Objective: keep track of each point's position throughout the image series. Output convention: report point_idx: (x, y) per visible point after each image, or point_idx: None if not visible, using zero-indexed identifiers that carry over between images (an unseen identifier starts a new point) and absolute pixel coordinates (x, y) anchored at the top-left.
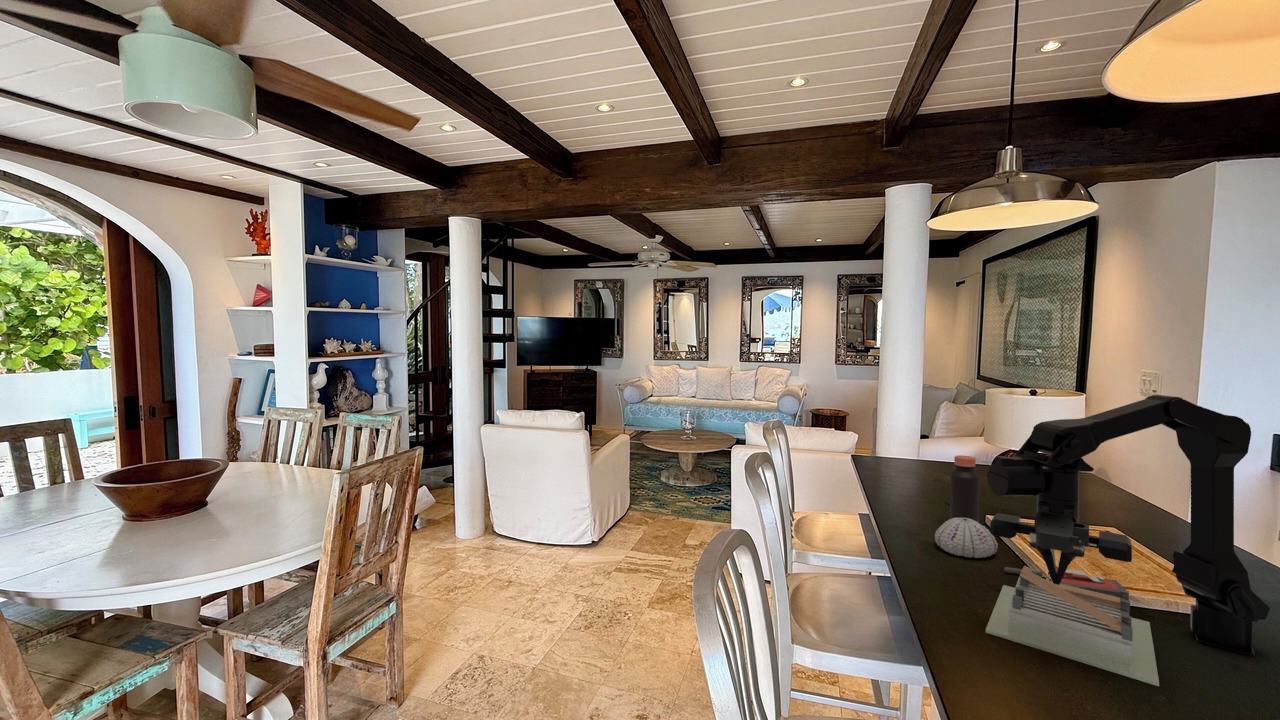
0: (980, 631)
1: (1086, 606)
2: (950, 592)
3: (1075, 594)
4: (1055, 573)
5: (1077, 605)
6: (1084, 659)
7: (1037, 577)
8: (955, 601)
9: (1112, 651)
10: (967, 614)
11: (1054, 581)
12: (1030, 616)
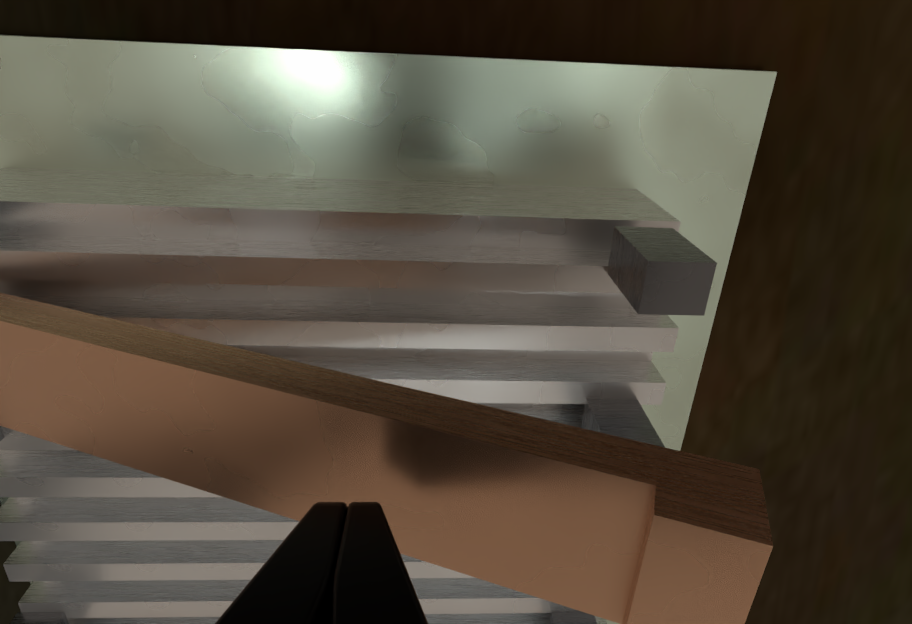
0: (793, 66)
1: (117, 387)
2: (885, 464)
3: None
4: (332, 622)
5: (180, 349)
6: (217, 48)
7: (549, 549)
8: (878, 378)
9: (67, 184)
10: (837, 258)
11: (362, 517)
12: (537, 247)
